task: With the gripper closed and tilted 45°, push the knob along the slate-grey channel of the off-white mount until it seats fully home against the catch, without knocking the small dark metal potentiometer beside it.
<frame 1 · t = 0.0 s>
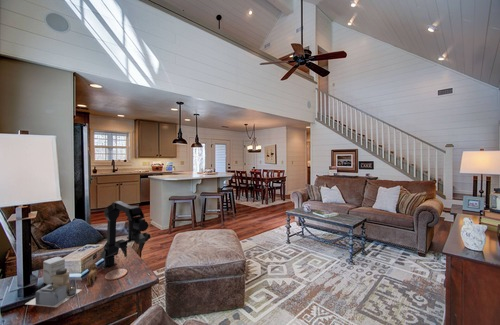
hand: (133, 254, 131), 15 cm above the table, tool pointing down, fingers open, 9 cm apart
knob: (61, 282, 113), point 8 cm above the table, slide at 4.0 cm
mount: (53, 301, 110), on the table
potentiometer: (71, 293, 114), point 1 cm above the table, touching mount
lion figurine: (91, 281, 128), on the table
supplement box: (54, 281, 127), on the table
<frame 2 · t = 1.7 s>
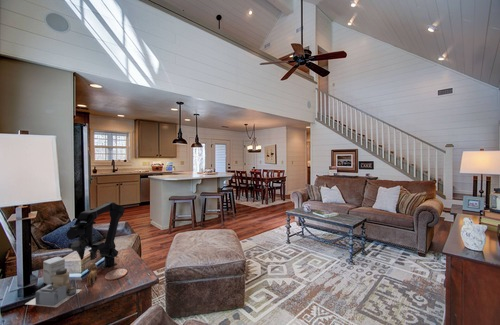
hand: (86, 259, 129), 12 cm above the table, tool pointing down, fingers open, 6 cm apart
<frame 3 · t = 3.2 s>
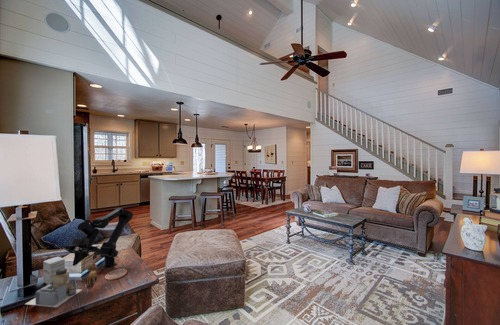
hand: (73, 265, 120), 13 cm above the table, tool tilted 45°, fingers closed
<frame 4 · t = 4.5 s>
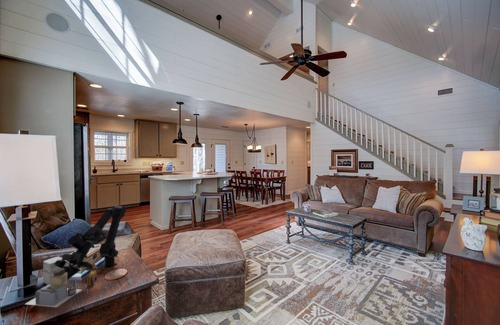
hand: (63, 282, 114), 7 cm above the table, tool tilted 45°, fingers closed, pressing on knob
knob: (59, 283, 112), point 8 cm above the table, slide at 2.8 cm, touching gripper
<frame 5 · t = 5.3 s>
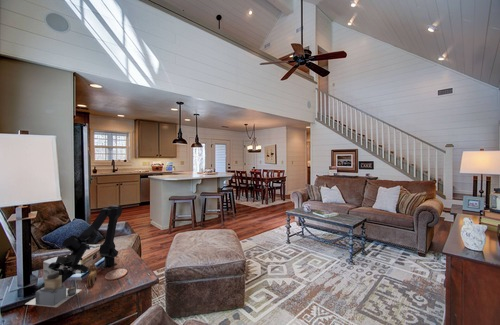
hand: (57, 285, 111), 7 cm above the table, tool tilted 45°, fingers closed, pressing on knob
knob: (53, 286, 109), point 8 cm above the table, slide at -0.2 cm, touching gripper
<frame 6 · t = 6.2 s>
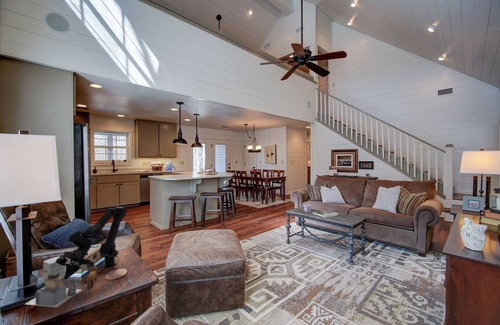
hand: (64, 279, 115), 8 cm above the table, tool tilted 45°, fingers closed
knob: (53, 286, 109), point 8 cm above the table, slide at 0.0 cm
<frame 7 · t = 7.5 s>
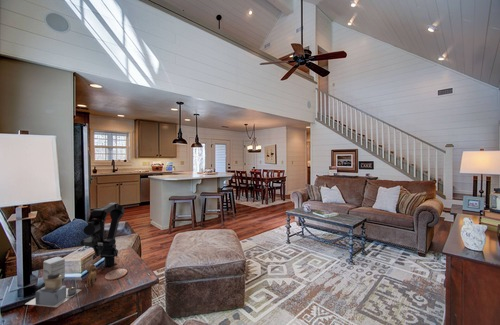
hand: (97, 256, 132), 13 cm above the table, tool pointing down, fingers closed
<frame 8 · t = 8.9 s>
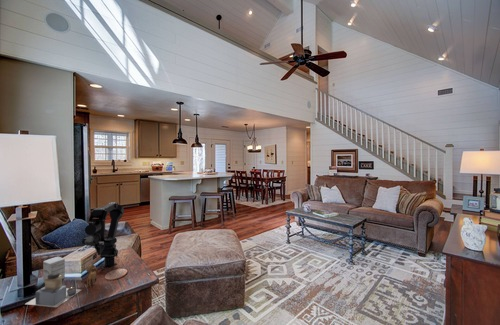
hand: (99, 254, 133), 13 cm above the table, tool pointing down, fingers closed
at the end: knob slide at 0.0 cm; potentiometer moved 0.1 cm from its start; potentiometer tilted 4° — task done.
